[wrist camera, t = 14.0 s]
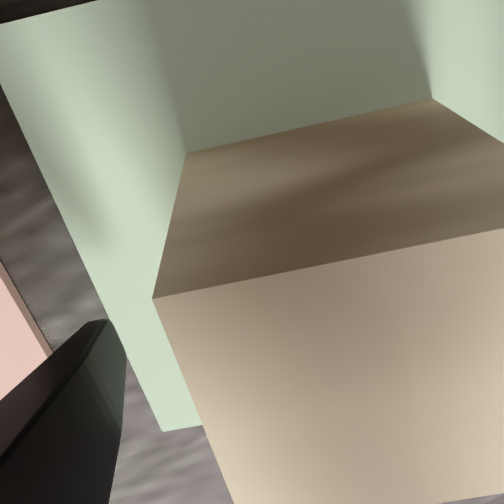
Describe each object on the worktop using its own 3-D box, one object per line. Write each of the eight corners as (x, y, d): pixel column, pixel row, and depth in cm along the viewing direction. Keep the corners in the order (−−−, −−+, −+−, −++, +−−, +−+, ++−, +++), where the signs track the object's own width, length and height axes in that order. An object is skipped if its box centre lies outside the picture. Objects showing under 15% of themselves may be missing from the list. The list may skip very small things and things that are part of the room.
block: (432, 98, 9) (604, 207, 5) (435, 298, 12) (552, 484, 8) (186, 153, 10) (151, 298, 5) (240, 336, 12) (246, 534, 8)
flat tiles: (604, -125, 8) (617, -128, 8) (539, 357, 13) (544, 364, 13) (-622, 177, 10) (-645, 182, 9) (-230, 493, 15) (-238, 502, 15)
